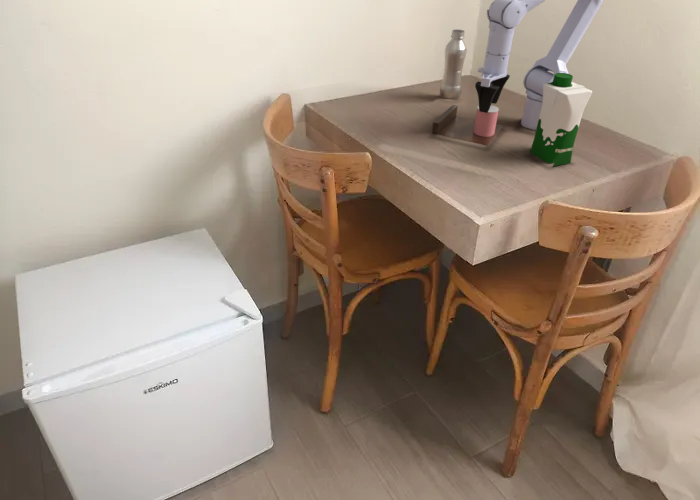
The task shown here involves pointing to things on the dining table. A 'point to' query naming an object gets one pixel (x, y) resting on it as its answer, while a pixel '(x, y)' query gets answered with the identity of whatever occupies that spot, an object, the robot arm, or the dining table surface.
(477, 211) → the dining table surface
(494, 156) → the dining table surface
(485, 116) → the yogurt pot
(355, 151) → the dining table surface
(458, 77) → the plastic bottle
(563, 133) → the milk carton
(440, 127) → the serving board
